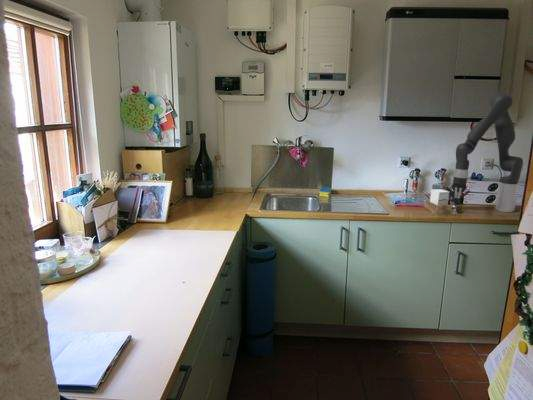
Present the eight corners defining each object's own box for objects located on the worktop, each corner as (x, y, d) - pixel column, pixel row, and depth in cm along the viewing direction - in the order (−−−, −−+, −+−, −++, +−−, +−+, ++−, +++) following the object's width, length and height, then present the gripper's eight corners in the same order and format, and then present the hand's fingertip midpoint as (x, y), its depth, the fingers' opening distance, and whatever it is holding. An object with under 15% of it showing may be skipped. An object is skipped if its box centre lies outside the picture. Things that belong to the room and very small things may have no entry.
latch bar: (449, 202, 239) (449, 197, 239) (453, 202, 239) (454, 197, 238) (452, 208, 226) (453, 203, 225) (456, 208, 225) (457, 203, 224)
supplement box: (436, 212, 228) (439, 192, 224) (428, 209, 235) (430, 189, 231) (446, 212, 230) (449, 191, 226) (438, 208, 236) (441, 188, 233)
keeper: (444, 207, 240) (445, 199, 238) (458, 214, 226) (459, 205, 224) (423, 207, 238) (424, 199, 237) (436, 214, 224) (437, 206, 223)
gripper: (473, 176, 230) (469, 204, 235) (449, 174, 237) (445, 201, 242) (472, 178, 224) (467, 207, 229) (447, 175, 231) (443, 203, 236)
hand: (456, 204), depth 235 cm, fingers closed
